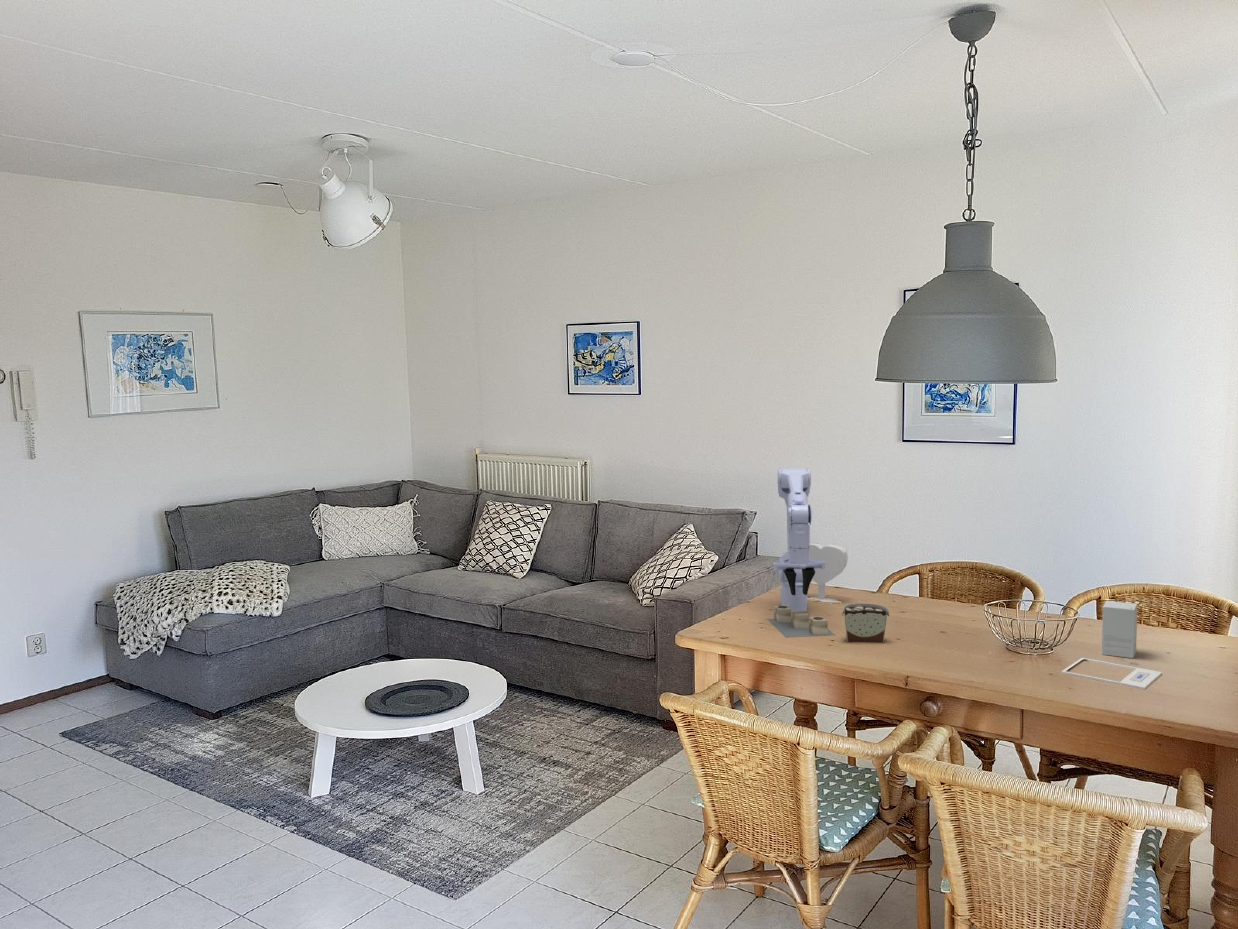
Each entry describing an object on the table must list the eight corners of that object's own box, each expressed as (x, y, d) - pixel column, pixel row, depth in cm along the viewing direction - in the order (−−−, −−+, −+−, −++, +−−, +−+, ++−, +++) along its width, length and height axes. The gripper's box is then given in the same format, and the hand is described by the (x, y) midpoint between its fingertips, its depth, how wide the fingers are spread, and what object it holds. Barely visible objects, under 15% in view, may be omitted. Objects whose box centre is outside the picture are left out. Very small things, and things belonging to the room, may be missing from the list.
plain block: (791, 625, 271) (791, 611, 271) (804, 624, 272) (804, 610, 271) (795, 628, 267) (795, 615, 267) (809, 628, 268) (809, 614, 268)
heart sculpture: (848, 601, 302) (848, 545, 300) (843, 604, 297) (844, 547, 296) (800, 596, 309) (800, 541, 307) (795, 599, 305) (795, 544, 303)
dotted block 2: (808, 631, 265) (809, 616, 264) (822, 630, 265) (822, 616, 265) (813, 635, 261) (813, 620, 260) (827, 634, 261) (827, 619, 261)
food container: (885, 639, 259) (885, 603, 258) (889, 645, 253) (889, 608, 252) (838, 638, 260) (839, 602, 259) (841, 645, 254) (842, 608, 253)
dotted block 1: (774, 619, 278) (774, 605, 278) (787, 618, 278) (787, 604, 278) (777, 622, 274) (777, 608, 274) (791, 622, 274) (791, 608, 274)
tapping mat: (766, 621, 279) (766, 618, 279) (812, 619, 280) (812, 616, 280) (786, 640, 259) (786, 637, 259) (835, 638, 261) (835, 635, 261)
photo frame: (1144, 686, 215) (1061, 670, 228) (1144, 691, 216) (1061, 675, 228) (1162, 671, 226) (1081, 656, 238) (1161, 676, 226) (1081, 661, 238)
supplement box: (1136, 651, 244) (1138, 603, 243) (1133, 659, 238) (1135, 609, 237) (1104, 647, 248) (1106, 600, 247) (1100, 654, 242) (1102, 606, 241)
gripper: (778, 550, 264) (778, 598, 265) (828, 548, 265) (828, 596, 267) (771, 546, 271) (771, 592, 272) (820, 544, 272) (820, 590, 274)
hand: (799, 594), depth 270 cm, fingers open, 3 cm apart
